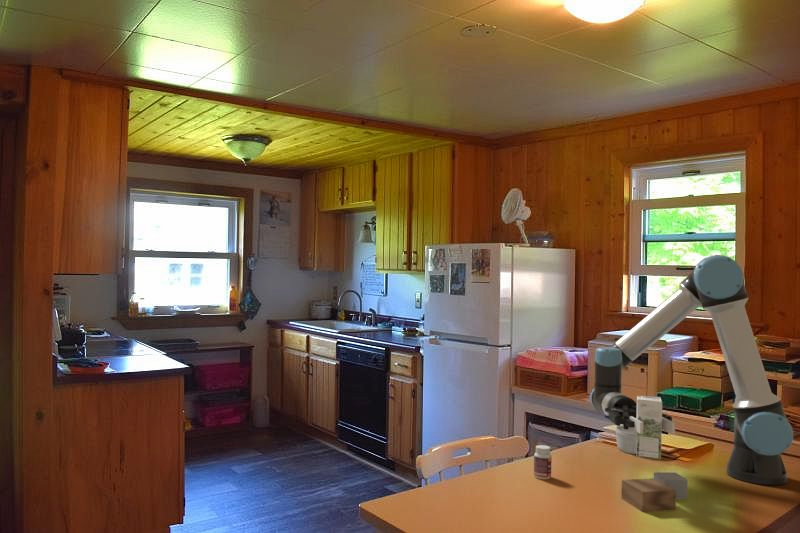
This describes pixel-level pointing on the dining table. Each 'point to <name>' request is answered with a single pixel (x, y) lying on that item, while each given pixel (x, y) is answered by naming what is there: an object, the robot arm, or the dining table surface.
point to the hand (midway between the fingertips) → (657, 428)
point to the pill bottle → (542, 462)
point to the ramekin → (626, 439)
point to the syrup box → (649, 427)
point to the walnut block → (648, 495)
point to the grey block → (673, 483)
